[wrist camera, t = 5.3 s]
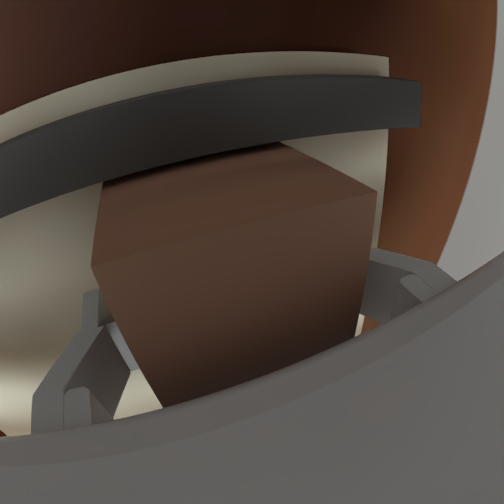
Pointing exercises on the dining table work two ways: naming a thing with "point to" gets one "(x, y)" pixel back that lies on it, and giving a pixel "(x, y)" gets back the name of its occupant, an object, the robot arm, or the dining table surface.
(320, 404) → the robot arm
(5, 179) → the board
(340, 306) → the brown cardboard brick
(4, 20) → the dining table surface
